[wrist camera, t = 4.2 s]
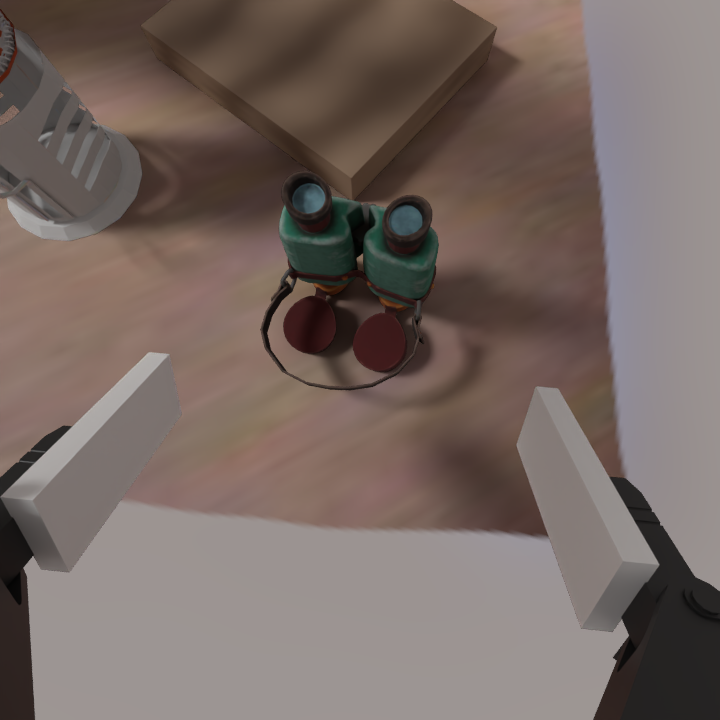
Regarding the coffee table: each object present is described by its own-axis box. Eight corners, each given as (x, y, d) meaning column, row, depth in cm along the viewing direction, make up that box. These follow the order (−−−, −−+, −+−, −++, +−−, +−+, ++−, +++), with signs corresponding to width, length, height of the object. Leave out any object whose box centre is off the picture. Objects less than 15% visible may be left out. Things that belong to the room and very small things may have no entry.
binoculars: (201, 350, 17) (271, 129, 18) (269, 377, 27) (311, 235, 29) (418, 407, 16) (475, 173, 17) (402, 412, 27) (439, 266, 28)
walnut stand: (157, 58, 33) (140, 25, 30) (294, -59, 35) (289, -98, 33) (352, 201, 29) (350, 177, 27) (487, 60, 32) (497, 27, 30)
